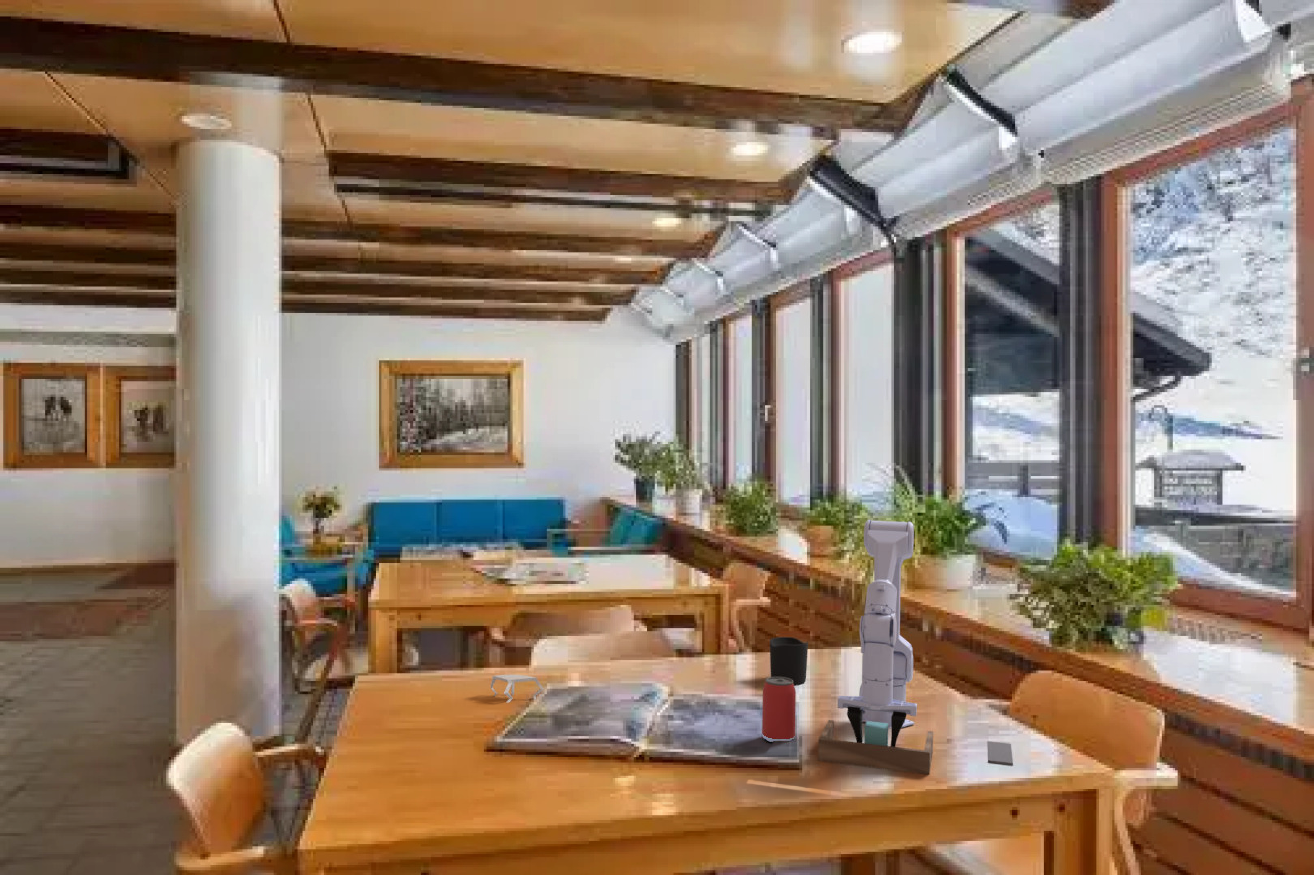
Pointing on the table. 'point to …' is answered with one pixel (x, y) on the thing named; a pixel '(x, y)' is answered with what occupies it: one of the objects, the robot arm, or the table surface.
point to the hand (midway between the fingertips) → (876, 749)
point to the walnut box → (874, 753)
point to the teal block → (876, 733)
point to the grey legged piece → (511, 682)
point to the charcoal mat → (999, 753)
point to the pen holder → (788, 659)
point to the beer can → (778, 708)
